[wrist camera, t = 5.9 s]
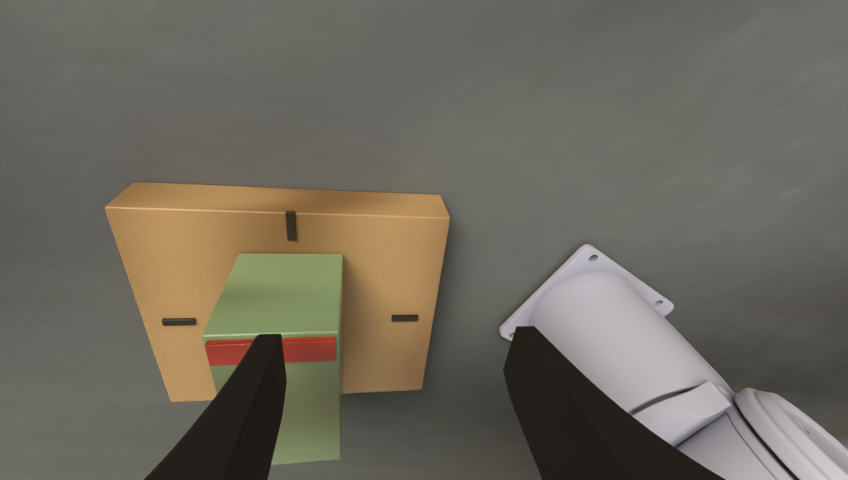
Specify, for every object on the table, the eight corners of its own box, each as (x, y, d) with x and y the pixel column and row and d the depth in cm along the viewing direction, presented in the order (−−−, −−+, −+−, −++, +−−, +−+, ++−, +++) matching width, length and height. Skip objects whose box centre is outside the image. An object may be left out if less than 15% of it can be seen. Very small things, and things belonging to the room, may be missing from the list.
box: (343, 371, 22) (340, 465, 18) (259, 375, 21) (233, 474, 17) (343, 253, 18) (339, 337, 14) (238, 252, 17) (197, 341, 13)
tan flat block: (441, 192, 20) (451, 217, 18) (416, 359, 26) (422, 393, 24) (132, 178, 17) (99, 206, 15) (186, 367, 24) (169, 406, 21)
